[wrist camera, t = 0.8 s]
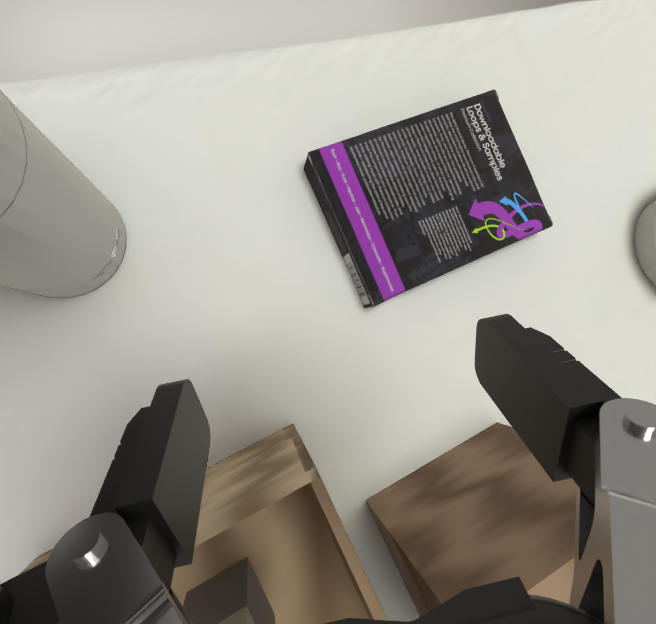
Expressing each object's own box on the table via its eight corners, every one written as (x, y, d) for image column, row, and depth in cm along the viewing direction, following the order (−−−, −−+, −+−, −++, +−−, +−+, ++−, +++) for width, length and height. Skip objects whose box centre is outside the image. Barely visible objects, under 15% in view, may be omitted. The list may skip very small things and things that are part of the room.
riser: (435, 648, 33) (595, 915, 18) (365, 500, 33) (465, 635, 18) (561, 559, 36) (794, 721, 21) (497, 422, 36) (682, 480, 21)
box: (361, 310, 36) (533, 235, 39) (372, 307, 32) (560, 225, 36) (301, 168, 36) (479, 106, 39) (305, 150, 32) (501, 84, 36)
